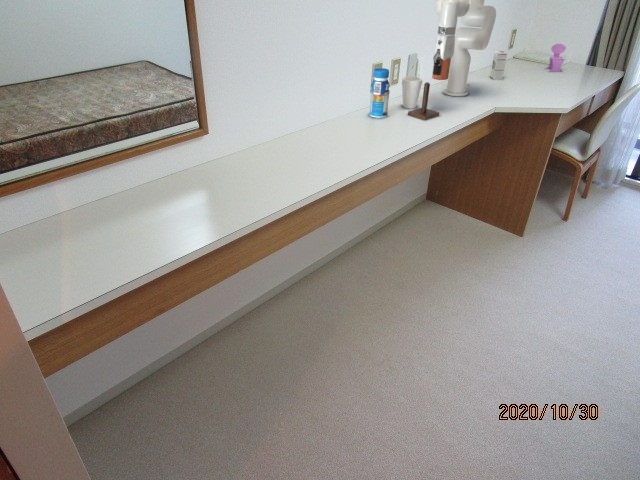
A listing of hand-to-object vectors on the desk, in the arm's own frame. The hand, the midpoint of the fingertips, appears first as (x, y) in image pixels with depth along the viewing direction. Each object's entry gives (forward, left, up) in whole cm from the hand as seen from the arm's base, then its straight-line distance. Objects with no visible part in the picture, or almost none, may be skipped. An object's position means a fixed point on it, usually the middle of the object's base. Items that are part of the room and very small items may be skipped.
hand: (440, 73), depth 205 cm
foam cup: (+7, -10, -16) cm, 21 cm away
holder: (+13, +3, -16) cm, 21 cm away
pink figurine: (-120, -3, -16) cm, 121 cm away
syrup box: (-75, -15, -16) cm, 78 cm away
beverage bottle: (+29, -10, -16) cm, 35 cm away
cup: (0, 0, -2) cm, 2 cm away
